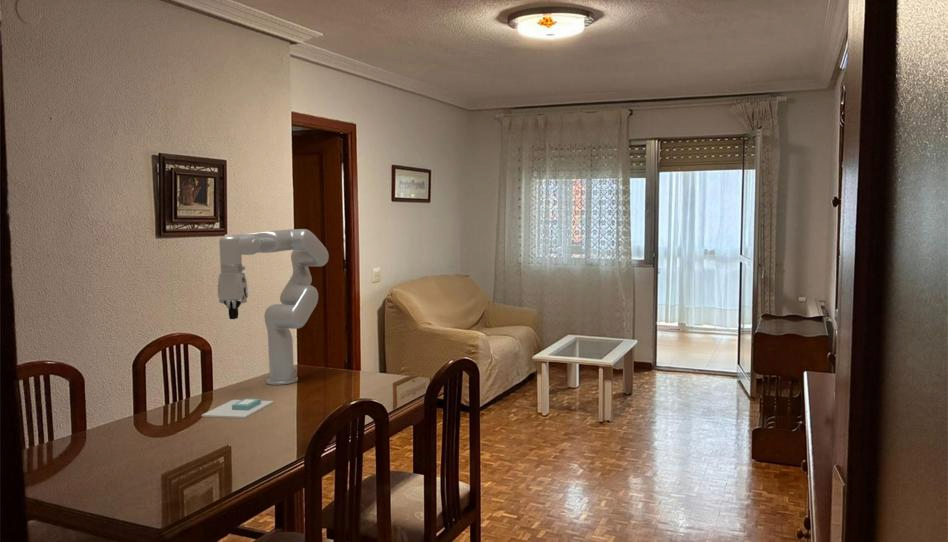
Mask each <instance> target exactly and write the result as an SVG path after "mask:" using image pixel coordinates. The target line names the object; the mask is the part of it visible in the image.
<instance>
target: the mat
mask: <svg viewBox="0 0 948 542" xmlns="http://www.w3.org/2000/svg"><path fill="white" fill-rule="evenodd" d="M241 400H242V399H232V400H229V401H227V402H225V403H224V404H221V405H219V406H217V407H215V408H213V409H211V410H208V411H207V412H205V413H202V414H201V417H203V418H225V419H226V418H227V419H230V418H231V419H246V418H249V417H250V416H252V415H254V414H256V413H257V412H260V411H262V410H263V409H265V408H267V407H268V406H270V405H273V404H274V403H275V401H273V400H261V404H259V405H257V406H255V407H253V408H252V409H250V410H232V405H233V404H235V403H237V402H239V401H241Z"/></svg>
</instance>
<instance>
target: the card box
mask: <svg viewBox="0 0 948 542" xmlns="http://www.w3.org/2000/svg"><path fill="white" fill-rule="evenodd" d="M240 400H241V401H239V402H237V403H235V404H233V405H232V410H250V409H252V408H253V407H255V406H257V405H259V404H261V401H262V398H244V399H240Z"/></svg>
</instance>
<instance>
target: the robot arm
mask: <svg viewBox="0 0 948 542" xmlns="http://www.w3.org/2000/svg"><path fill="white" fill-rule="evenodd" d="M218 243H219V245H218V247H219V263H220V267H219V268H220V273H219V275H218V280H217V296H218V302H219V304H224V305H225V306H226V308H227V309H228V317H229V320H236V319H238V318H239V308H240V306H241V305H242V304H246V303H247V302H248V301H247V300H248V297H249V290H248V281H247V278H246V274H245V272H243V271H245V270H246V267H245V265H243V264H242V263H243V262H242V261H243V260H242V256H252V255H253V256H254V255H255V254H257V253H260V254H265V253H268V254H269V253H278V252H284V251H286V252H287V251H291V253H290V260H291V261H290V262H291V265H292V266H291V267H292V275H291V276H290V278H289V280H288V281H287V283H286V284H285V286H284V288H283V290H282V291H281V294H280V296H279V301H280V303H277V304H272V305H269V306H268V307H267V308H266V309H265V312H264V315H263V316H264V323H265V326H266V331H267V344H268V349H267V350H268V368H269V377H268V378H266V380H265V383H266V384H267V385H272V386H277V385H278V386H279V385H280V386H282V385H283V386H284V385H289V384H294V383H296V382H298V380H299V378H298V376H296V375H295V373H297V371H298V368H297V367H294V345H293V335H292V333H291V330H290V329H293V330H295V329H296V330H298V329H301V328H303V327H304V326H305V324H306V323H307V322H308V320H309V318H310V316H311V315H312V313H313V311H314V310H315V308H316V307H317V304H318V301H319V292H318V290H317V288H316V287H314V286H313V285H311V284H312V282H313V281H312V280H313V279H312V275H311V271H310V268H309V267H324V266H325V265H326V264H327V263H328V262H329V258H330V257H329V256H330V255H329V251H328V250H327V247H325V246H324V244H323V243H322V242H321V240H319V238H318V237H317V236H316V234H314V233H313V232H312V231H311V230H309V229H306V228H298V229H297V228H294V229H293V228H292V229H291V228H290V229H279V230H269V231H260V232H253V233H242V234H241V233H240V234H231V235H229V236H226V235H225V236H221V237H219V241H218Z"/></svg>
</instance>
